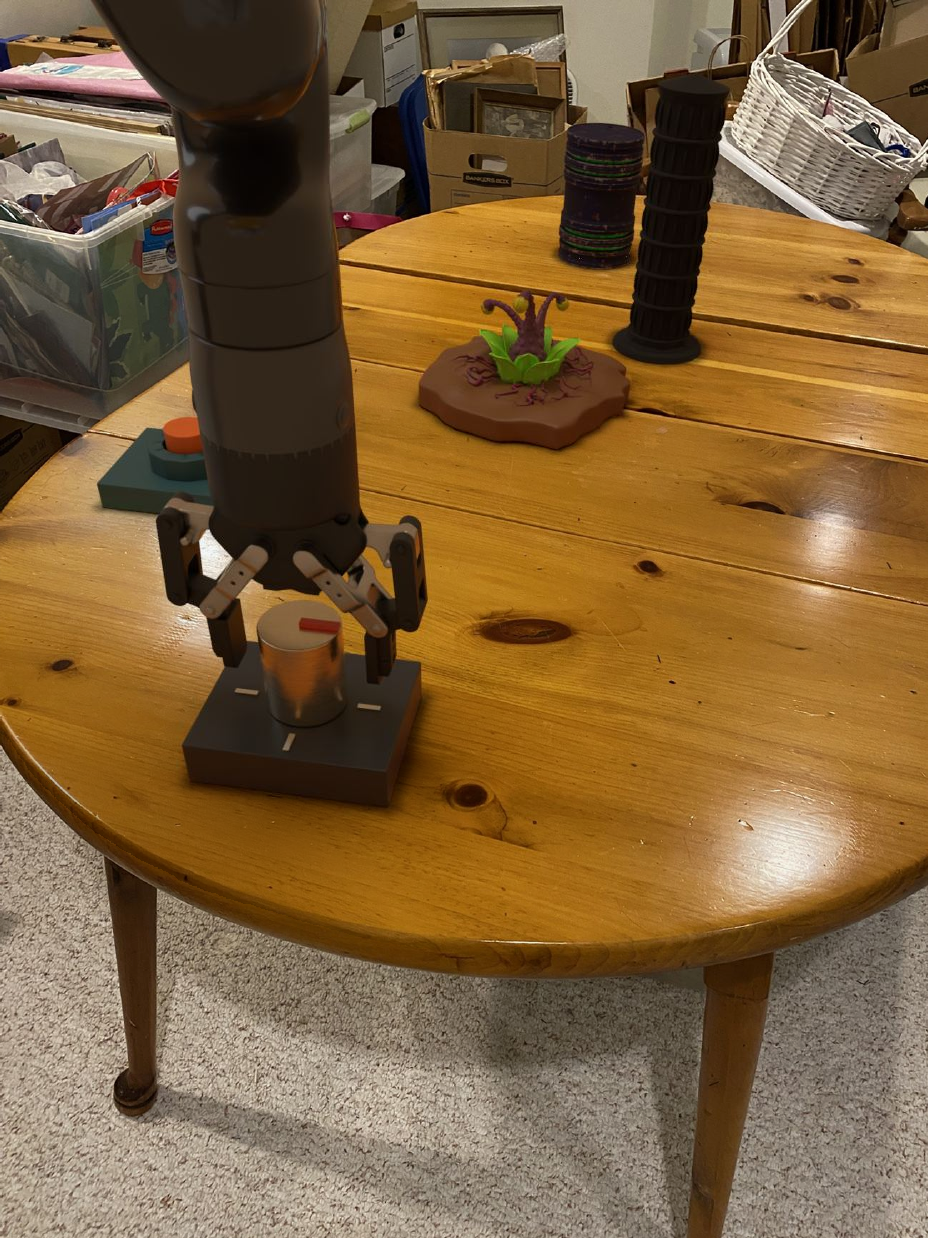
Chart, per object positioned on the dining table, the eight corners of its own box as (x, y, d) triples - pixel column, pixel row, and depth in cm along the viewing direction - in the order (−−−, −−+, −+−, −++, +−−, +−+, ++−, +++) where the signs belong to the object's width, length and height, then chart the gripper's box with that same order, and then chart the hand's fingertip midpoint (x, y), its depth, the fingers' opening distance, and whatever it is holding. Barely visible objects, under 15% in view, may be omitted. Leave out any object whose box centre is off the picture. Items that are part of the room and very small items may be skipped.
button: (159, 454, 83) (155, 434, 82) (176, 433, 85) (173, 414, 84) (202, 458, 82) (199, 439, 81) (218, 438, 85) (215, 418, 84)
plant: (385, 413, 98) (381, 295, 91) (476, 344, 112) (479, 237, 104) (578, 464, 92) (590, 343, 85) (649, 385, 106) (665, 275, 99)
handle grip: (616, 361, 110) (708, 365, 110) (649, 81, 93) (758, 87, 93) (608, 326, 118) (694, 329, 118) (638, 60, 100) (738, 66, 101)
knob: (256, 721, 60) (243, 640, 56) (281, 670, 64) (270, 590, 60) (336, 731, 60) (329, 651, 56) (356, 679, 64) (350, 600, 60)
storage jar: (624, 273, 131) (639, 145, 122) (550, 263, 133) (559, 136, 123) (636, 249, 139) (650, 127, 129) (565, 240, 140) (574, 119, 130)
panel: (189, 781, 61) (180, 742, 58) (244, 674, 68) (238, 637, 66) (388, 807, 60) (386, 769, 58) (421, 696, 67) (421, 659, 65)
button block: (102, 507, 83) (91, 462, 80) (151, 449, 90) (142, 407, 88) (245, 523, 82) (239, 479, 79) (283, 464, 90) (278, 422, 87)
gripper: (435, 393, 52) (436, 642, 63) (165, 366, 53) (211, 616, 64) (404, 463, 46) (411, 724, 57) (102, 432, 47) (165, 694, 58)
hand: (306, 667), depth 60 cm, fingers open, 8 cm apart
